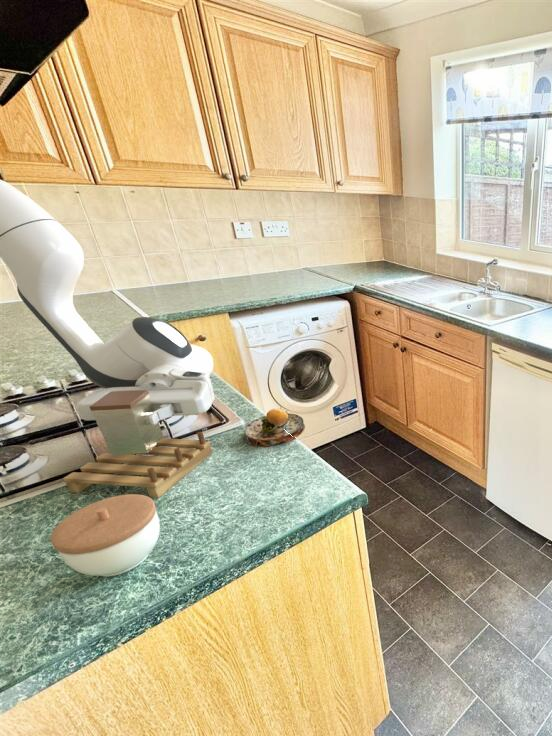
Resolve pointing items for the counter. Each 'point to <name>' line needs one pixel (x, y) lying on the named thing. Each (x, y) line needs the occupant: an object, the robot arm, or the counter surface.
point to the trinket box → (108, 535)
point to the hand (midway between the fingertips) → (125, 422)
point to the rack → (144, 467)
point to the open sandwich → (274, 428)
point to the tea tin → (126, 422)
